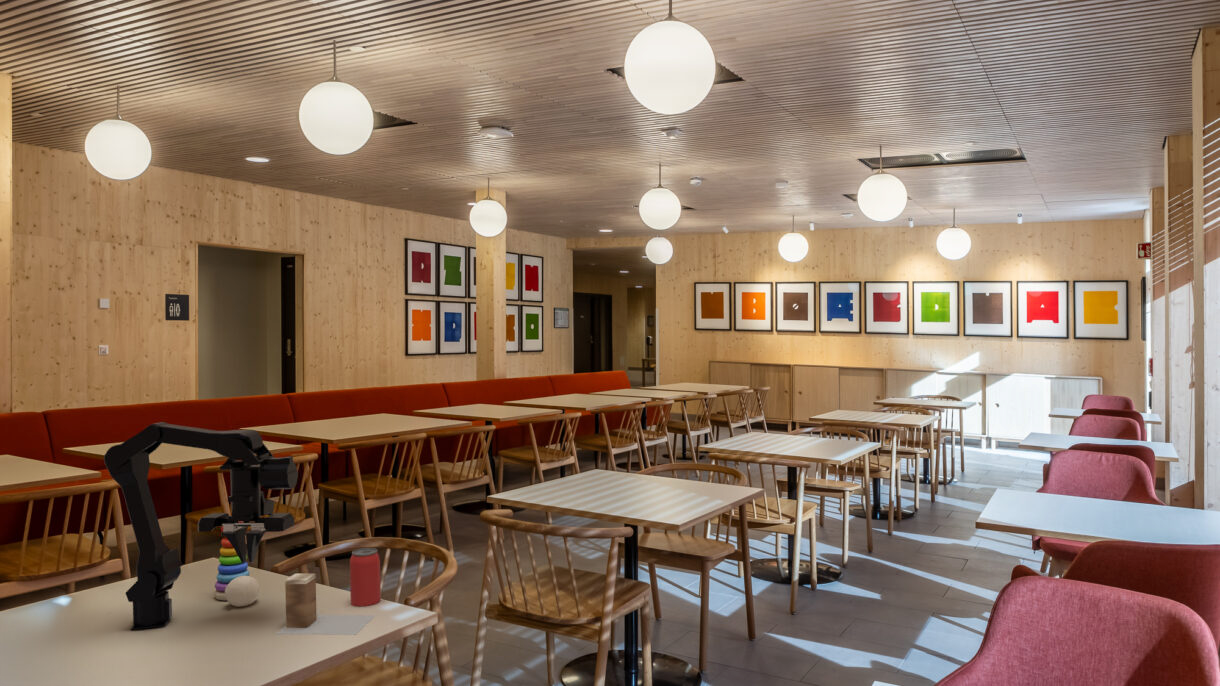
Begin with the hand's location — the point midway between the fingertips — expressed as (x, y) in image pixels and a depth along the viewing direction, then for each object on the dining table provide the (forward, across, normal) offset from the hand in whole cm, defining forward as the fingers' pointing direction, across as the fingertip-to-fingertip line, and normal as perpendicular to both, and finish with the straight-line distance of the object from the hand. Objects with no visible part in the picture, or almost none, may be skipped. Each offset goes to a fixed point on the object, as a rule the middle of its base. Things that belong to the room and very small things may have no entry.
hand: (247, 562), depth 173 cm
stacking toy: (+13, +13, -16) cm, 25 cm away
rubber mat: (+13, -18, +2) cm, 22 cm away
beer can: (+13, -21, -12) cm, 28 cm away
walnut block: (+13, -12, +2) cm, 18 cm away
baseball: (+13, +7, -10) cm, 18 cm away
